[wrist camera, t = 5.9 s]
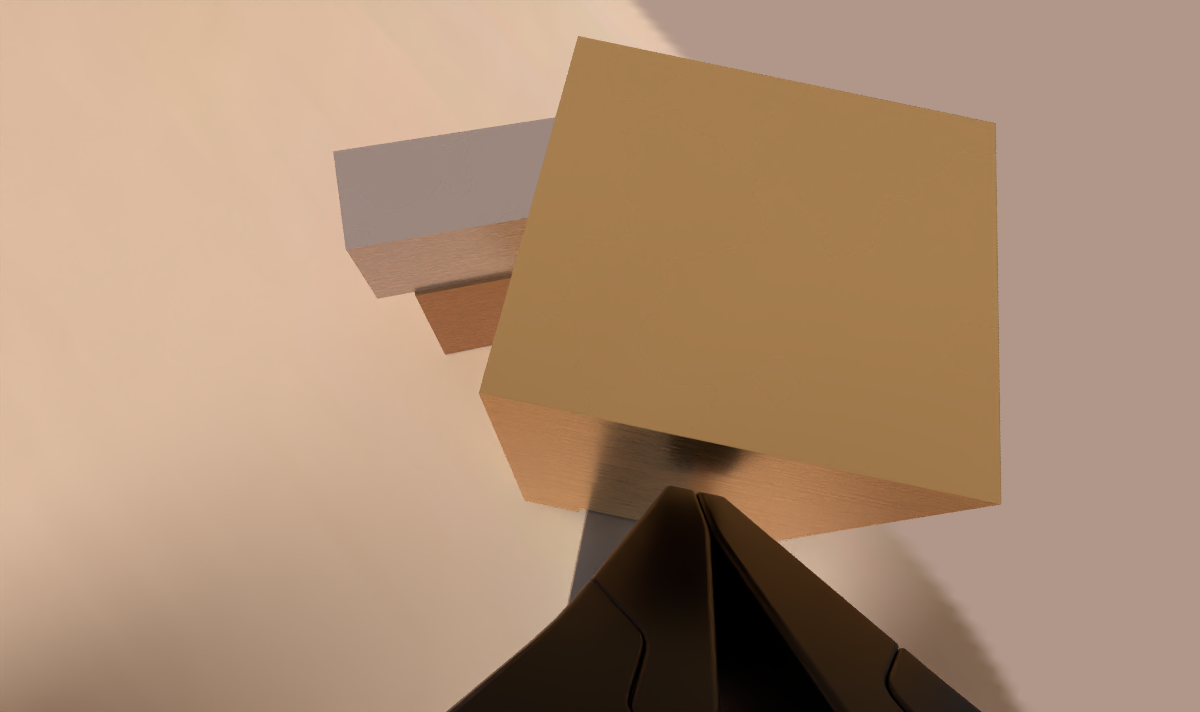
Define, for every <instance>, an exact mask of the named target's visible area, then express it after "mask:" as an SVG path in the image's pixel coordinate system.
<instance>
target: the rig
mask: <svg viewBox="0 0 1200 712" xmlns="http://www.w3.org/2000/svg"><path fill="white" fill-rule="evenodd" d="M555 118H556V117H555ZM555 118H549V119H542V120H536V121H529V122H523V123H516V124H510V125H503V126H497V127H490V128H484V129H477V130H471V131H464V132H458V133H451V134H445V135H438V136H432V137H425V138H419V139H412V140H406V141H399V142H393V143H386V144H380V145H373V146H366V147H360V148H353V149H347V150H340V151H334V160H335V168H336V176H337V183H338V191H339V199H340V207H341V215H342V222H343V230H344V238H345V246H346V250H347V252H348V253H349V255H350V256H351V258H352V260H353V261H354V263H355V264H356V266H357V267H358V269H359V270H360V272H361V273H362V275H363V277H364V278H365V280H366V281H367V283H368V284H369V286H370V287H371V289H372V290H373V292H374V294H375V295H376V297H377V298H384V297H389V296H394V295H400V294H405V293H411V292H415V296H416V298H417V300H418V302H419V304H420V305H421V307H422V309H423V311H424V313H425V315H426V317H427V319H428V321H429V323H430V325H431V327H432V329H433V331H434V333H435V335H436V337H437V339H438V341H439V343H440V345H441V347H442V349H443V351H444V353H445V354H450V353H455V352H460V351H465V350H470V349H475V348H480V347H485V346H490V345H492V344H493V341H494V337H495V334H496V330H497V326H498V323H499V319H500V316H501V312H502V308H503V305H504V301H505V298H506V294H507V290H508V287H509V283H510V280H511V276H512V272H513V269H514V265H515V262H516V258H517V254H518V251H519V247H520V244H521V240H522V236H523V233H524V229H525V226H526V222H527V218H528V215H529V211H530V208H531V204H532V200H533V197H534V193H535V190H536V186H537V183H538V179H539V175H540V172H541V168H542V165H543V161H544V157H545V154H546V150H547V147H548V143H549V139H550V136H551V132H552V129H553V125H554V121H555ZM637 522H638V520H634V519H629V518H624V517H620V516H615V515H610V514H606V513H601V512H596V511H592V510H587V512H586V517H585V522H584V527H583V531H582V536H581V541H580V546H579V551H578V556H577V561H576V566H575V571H574V576H573V581H572V585H571V590H570V595H569V600H568V604H569V603H570V602H571V601H572V600H573V599H574V598H575V597H576V595H577V594H578V593H579V592H580V590H581V589H582V588H583V587H584V586H585V584H586V583H587V582H589V581H590V579H591V578H592V577H593V576H594V574H595V573H596V572H597V571H598V570H599V568H600V567H601V566H602V565H603V563H604V562H605V561H606V560H607V558H608V557H609V556H610V555H611V554H612V552H613V551H614V550H615V549H616V547H617V546H618V545H619V544H620V542H621V541H622V540H623V539H624V538H625V536H626V535H627V534H628V533H629V531H630V530H631V529H632V528H633V526H634V525H635V524H636V523H637Z"/></svg>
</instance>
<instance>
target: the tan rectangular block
mask: <svg viewBox="0 0 1200 712" xmlns="http://www.w3.org/2000/svg"><path fill="white" fill-rule="evenodd" d="M996 189H997V188H996V124H995V123H992V122H987V121H982V120H978V119H972V118H968V117H963V116H958V115H954V114H948V113H944V112H939V111H934V110H930V109H925V108H920V107H915V106H911V105H905V104H900V103H896V102H891V101H886V100H881V99H877V98H872V97H867V96H863V95H858V94H853V93H848V92H843V91H838V90H834V89H829V88H824V87H819V86H815V85H810V84H805V83H800V82H796V81H791V80H785V79H780V78H776V77H772V76H767V75H762V74H757V73H752V72H748V71H743V70H738V69H733V68H728V67H723V66H719V65H714V64H709V63H704V62H700V61H695V60H690V59H685V58H680V57H676V56H671V55H666V54H661V53H657V52H652V51H647V50H642V49H637V48H633V47H628V46H623V45H618V44H613V43H609V42H604V41H599V40H594V39H589V38H585V37H580V36H578V39H577V42H576V46H575V49H574V53H573V57H572V60H571V64H570V67H569V71H568V75H567V78H566V82H565V85H564V89H563V93H562V96H561V100H560V103H559V107H558V111H557V114H556V118H555V121H554V125H553V129H552V132H551V136H550V139H549V143H548V147H547V150H546V154H545V157H544V161H543V165H542V168H541V172H540V175H539V179H538V183H537V186H536V190H535V193H534V197H533V200H532V204H531V208H530V211H529V215H528V218H527V222H526V226H525V229H524V233H523V236H522V240H521V244H520V247H519V251H518V254H517V258H516V262H515V265H514V269H513V272H512V276H511V280H510V283H509V287H508V290H507V294H506V298H505V301H504V305H503V308H502V312H501V316H500V319H499V323H498V326H497V330H496V334H495V337H494V341H493V344H492V348H491V352H490V355H489V359H488V362H487V366H486V370H485V373H484V377H483V380H482V384H481V388H480V391H479V394H480V397H481V399H482V401H483V404H484V406H485V408H486V411H487V413H488V415H489V418H490V420H491V422H492V425H493V427H494V429H495V432H496V434H497V436H498V439H499V441H500V443H501V446H502V448H503V450H504V453H505V455H506V457H507V460H508V462H509V464H510V467H511V469H512V471H513V474H514V476H515V478H516V481H517V483H518V485H519V488H520V490H521V492H522V495H523V497H524V499H525V501H529V502H534V503H539V504H543V505H548V506H553V507H558V508H562V509H567V510H572V511H576V512H579V510H580V508H582V509H587V510H592V511H596V512H601V513H606V514H610V515H615V516H620V517H624V518H629V519H634V520H639V519H640V518H641V517H642V515H643V514H644V513H645V512H646V511H647V509H648V508H649V507H650V506H651V504H652V503H653V502H654V501H655V499H656V498H657V497H658V496H659V495H660V493H661V492H662V491H663V490H664V488H665V487H667V486H669V485H671V486H676V487H680V488H685V489H690V490H693V491H694V493H695V494H696V493H698V492H704V493H709V494H713V495H718V496H722V497H724V498H726V499H727V500H728V501H729V502H730V503H732V504H733V505H734V506H735V507H736V508H738V509H739V510H740V511H741V512H742V513H743V514H745V515H746V516H747V517H748V518H749V519H751V520H752V521H753V522H754V523H755V524H756V525H758V526H759V527H760V528H761V529H762V530H764V531H765V532H766V533H767V534H768V535H769V536H771V537H772V538H773V539H774V540H775V541H778V540H784V539H791V538H797V537H803V536H809V535H815V534H821V533H827V532H834V531H840V530H846V529H852V528H858V527H864V526H870V525H877V524H883V523H889V522H895V521H900V520H907V519H913V518H920V517H925V516H932V515H937V514H944V513H950V512H956V511H962V510H969V509H975V508H981V507H986V506H993V505H999V504H1001V462H1000V398H999V397H1000V395H999V394H1000V393H999V327H998V325H999V324H998V261H997V260H998V257H997V190H996Z"/></svg>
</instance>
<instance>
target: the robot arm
mask: <svg viewBox="0 0 1200 712" xmlns="http://www.w3.org/2000/svg"><path fill="white" fill-rule="evenodd" d="M898 648H899V647H898V644H897V643H896V642H895V641H893V640H892V639H891V638H890V637H889V636H888V635H886V634H885V633H884V632H883V631H882V630H880V629H879V628H878V627H877V626H876V625H875V624H873V623H872V622H871V621H870V620H869V619H867V618H866V617H865V616H864V615H863V614H862V613H860V612H859V611H858V610H857V609H856V608H854V607H853V606H852V605H851V604H850V603H849V602H847V601H846V600H845V599H844V598H843V597H841V596H840V595H839V594H838V593H837V592H836V591H834V590H833V589H832V588H831V587H830V586H828V585H827V584H826V583H825V582H824V581H823V580H821V579H820V578H819V577H818V576H817V575H815V574H814V573H813V572H812V571H811V570H810V569H808V568H807V567H806V566H805V565H804V564H802V563H801V562H800V561H799V560H798V559H797V558H795V557H794V556H793V555H792V554H791V553H789V552H788V551H787V550H786V549H785V548H784V547H782V546H781V545H780V544H779V543H778V542H776V541H775V540H774V539H773V538H772V537H771V536H769V535H768V534H767V533H766V532H765V531H764V530H762V529H761V528H760V527H759V526H758V525H756V524H755V523H754V522H753V521H752V520H751V519H749V518H748V517H747V516H746V515H745V514H743V513H742V512H741V511H740V510H739V509H738V508H736V507H735V506H734V505H733V504H732V503H730V502H729V501H728V500H727V499H726V498H724V497H722V496H718V495H713V494H709V493H704V492H698V493H696V494H695V493H694V491H693V490H690V489H685V488H680V487H676V486H671V485H669V486H667V487H665V488H664V490H663V491H662V492H661V493H660V495H659V496H658V497H657V498H656V499H655V501H654V502H653V503H652V504H651V506H650V507H649V508H648V509H647V511H646V512H645V513H644V514H643V515H642V517H641V518H640V519H639V520H638V522H637V523H636V524H635V525H634V526H633V528H632V529H631V530H630V531H629V533H628V534H627V535H626V536H625V538H624V539H623V540H622V541H621V542H620V544H619V545H618V546H617V547H616V549H615V550H614V551H613V552H612V554H611V555H610V556H609V557H608V558H607V560H606V561H605V562H604V563H603V565H602V566H601V567H600V568H599V570H598V571H597V572H596V573H595V574H594V576H593V577H592V578H591V579H590V581H589V582H587V583H586V584H585V586H584V587H583V588H582V589H581V590H580V592H579V593H578V594H577V595H576V597H575V598H574V599H573V600H572V601H571V602H570V603H569V604H568V605H567V607H566V608H565V609H564V610H563V611H562V612H561V613H560V614H559V615H558V616H557V617H556V619H555V620H554V621H552V622H551V623H550V624H549V625H548V626H547V627H546V628H545V629H544V630H543V631H541V632H540V633H539V634H538V635H537V636H536V637H535V638H534V639H533V640H531V641H530V642H529V643H528V644H527V645H526V646H525V647H523V648H522V649H521V650H520V651H519V652H517V653H516V654H515V655H514V656H513V657H511V658H510V659H509V660H508V661H507V662H505V663H504V664H503V665H502V666H501V667H499V668H498V669H497V670H496V671H495V672H493V673H492V674H491V675H490V676H489V677H487V678H486V679H485V680H484V681H483V682H481V683H480V684H479V685H478V686H477V687H475V688H474V689H473V690H472V691H471V692H469V693H468V694H467V695H466V696H465V697H463V698H462V699H461V700H460V701H459V702H457V703H456V704H455V705H454V706H453V707H451V708H450V709H449V710H448V711H447V712H981V711H980V710H979V709H977V708H976V707H975V706H973V705H972V704H971V703H970V702H968V701H967V700H966V699H965V698H964V697H962V696H961V695H960V694H959V693H957V692H956V691H955V690H954V689H953V688H951V687H950V686H949V685H948V684H946V683H945V682H944V681H943V680H942V679H940V678H939V677H938V676H937V675H935V674H934V673H933V672H932V671H931V670H929V669H928V668H927V667H926V666H925V665H923V664H922V663H921V662H920V661H919V660H918V659H916V658H915V657H914V656H913V655H912V654H911V653H909V652H908V651H907V650H906V649H904V648H900V649H899V650H898Z"/></svg>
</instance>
